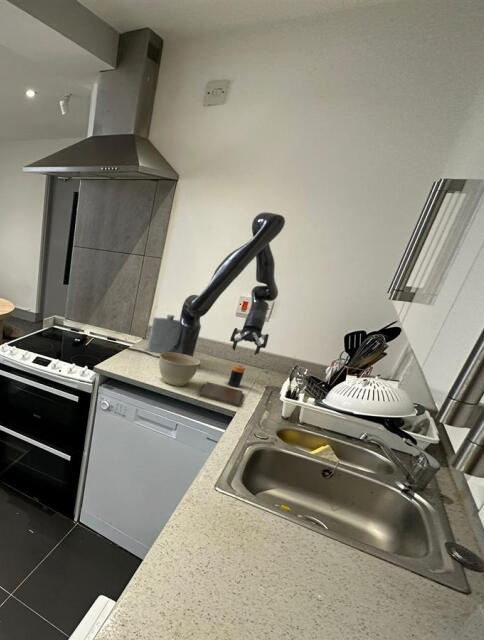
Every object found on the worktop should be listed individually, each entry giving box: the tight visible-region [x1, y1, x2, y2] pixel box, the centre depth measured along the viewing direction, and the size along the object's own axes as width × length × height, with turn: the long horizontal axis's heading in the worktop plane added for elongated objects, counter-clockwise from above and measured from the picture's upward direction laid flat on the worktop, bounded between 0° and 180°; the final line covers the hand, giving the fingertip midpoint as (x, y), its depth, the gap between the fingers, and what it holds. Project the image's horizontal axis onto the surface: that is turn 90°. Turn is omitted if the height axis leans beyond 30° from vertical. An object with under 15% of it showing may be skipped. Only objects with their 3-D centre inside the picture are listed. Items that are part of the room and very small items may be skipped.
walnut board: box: [199, 381, 243, 407], centre depth 160 cm, size 14×16×1 cm
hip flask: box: [146, 314, 180, 354], centre depth 204 cm, size 16×4×20 cm, turn 79°
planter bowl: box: [158, 352, 201, 387], centre depth 167 cm, size 16×16×11 cm
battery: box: [227, 364, 246, 388], centre depth 170 cm, size 4×4×9 cm
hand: (244, 351), depth 173 cm, fingers open, 8 cm apart
